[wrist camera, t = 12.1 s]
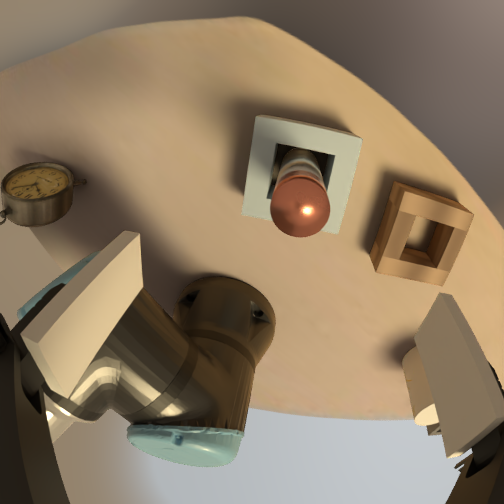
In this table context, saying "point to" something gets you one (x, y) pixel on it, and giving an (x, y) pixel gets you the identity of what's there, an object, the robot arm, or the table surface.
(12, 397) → the robot arm
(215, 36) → the table surface
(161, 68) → the table surface
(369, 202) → the table surface
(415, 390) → the cream cylinder
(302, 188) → the pin
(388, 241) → the mount
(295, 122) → the frame
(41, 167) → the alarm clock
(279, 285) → the table surface
